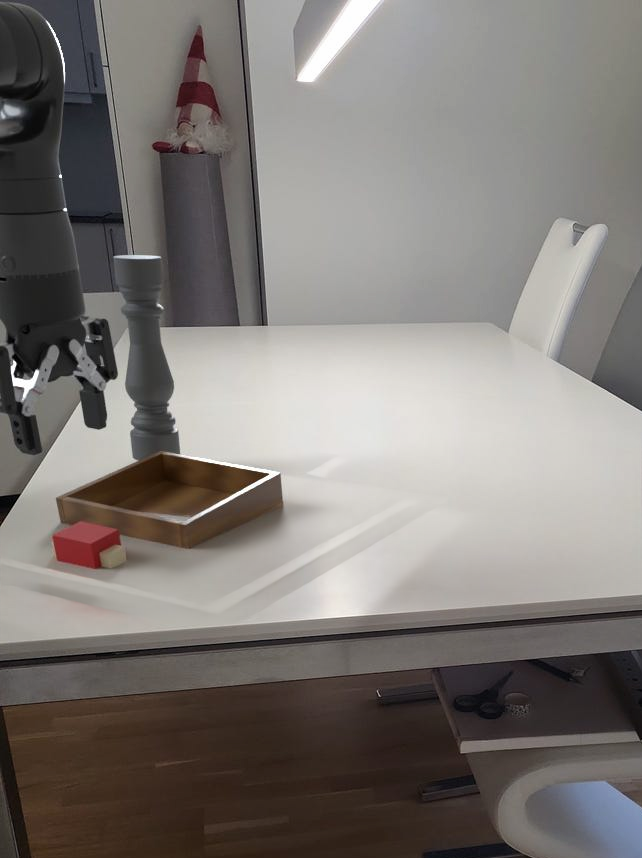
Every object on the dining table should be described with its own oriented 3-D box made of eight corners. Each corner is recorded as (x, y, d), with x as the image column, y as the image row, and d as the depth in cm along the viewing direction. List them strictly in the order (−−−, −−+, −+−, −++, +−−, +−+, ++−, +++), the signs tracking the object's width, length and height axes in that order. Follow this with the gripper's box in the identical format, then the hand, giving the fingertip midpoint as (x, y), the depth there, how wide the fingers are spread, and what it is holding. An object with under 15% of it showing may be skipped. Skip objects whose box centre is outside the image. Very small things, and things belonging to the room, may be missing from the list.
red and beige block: (51, 577, 107) (42, 532, 104) (79, 563, 110) (71, 519, 107) (108, 591, 104) (100, 546, 102) (135, 576, 107) (128, 531, 105)
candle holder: (190, 453, 141) (173, 256, 130) (163, 464, 135) (143, 260, 125) (150, 448, 142) (131, 253, 132) (122, 458, 137) (100, 257, 127)
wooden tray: (62, 533, 116) (55, 497, 114) (165, 483, 131) (160, 450, 128) (190, 562, 110) (185, 525, 108) (283, 506, 124) (280, 472, 122)
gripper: (60, 249, 99) (87, 415, 107) (-64, 272, 88) (-24, 455, 96) (122, 256, 97) (145, 426, 105) (2, 280, 85) (38, 469, 93)
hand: (64, 440), depth 100 cm, fingers open, 8 cm apart
